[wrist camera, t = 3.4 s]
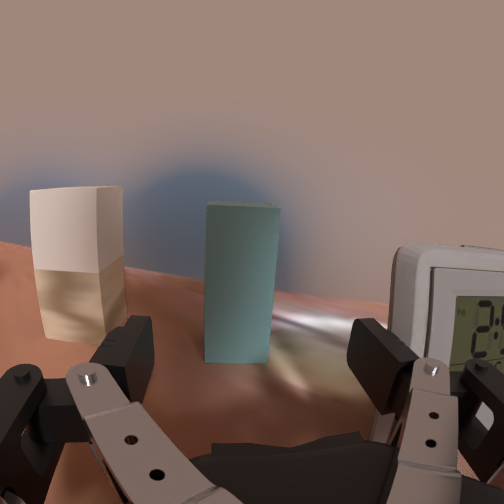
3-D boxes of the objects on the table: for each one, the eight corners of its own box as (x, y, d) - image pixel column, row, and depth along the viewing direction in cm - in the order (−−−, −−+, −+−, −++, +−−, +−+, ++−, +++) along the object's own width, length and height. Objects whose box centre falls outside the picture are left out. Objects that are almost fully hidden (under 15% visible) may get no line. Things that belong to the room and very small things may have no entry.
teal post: (259, 335, 26) (269, 203, 23) (267, 363, 21) (280, 208, 19) (206, 334, 25) (209, 200, 23) (204, 363, 21) (206, 204, 18)
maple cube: (127, 316, 27) (123, 254, 26) (107, 347, 21) (98, 273, 20) (73, 310, 26) (66, 251, 25) (46, 337, 20) (34, 268, 19)
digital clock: (351, 474, 11) (419, 257, 9) (353, 377, 20) (382, 226, 17) (569, 446, 7) (638, 289, 5) (525, 380, 15) (564, 256, 13)
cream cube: (123, 254, 26) (122, 186, 24) (98, 273, 20) (96, 187, 19) (66, 251, 25) (64, 187, 24) (34, 268, 19) (29, 190, 18)
